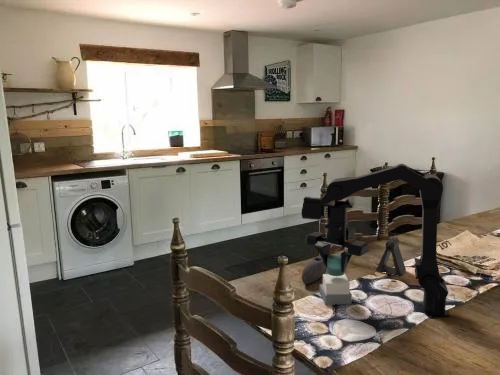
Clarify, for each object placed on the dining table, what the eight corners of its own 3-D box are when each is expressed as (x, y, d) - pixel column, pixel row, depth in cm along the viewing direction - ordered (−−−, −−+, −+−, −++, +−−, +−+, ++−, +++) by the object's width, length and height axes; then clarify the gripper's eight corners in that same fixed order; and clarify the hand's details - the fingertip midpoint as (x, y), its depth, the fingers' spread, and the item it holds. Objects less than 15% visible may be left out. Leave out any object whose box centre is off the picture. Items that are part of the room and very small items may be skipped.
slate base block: (351, 305, 121) (351, 294, 120) (325, 306, 121) (325, 295, 120) (343, 293, 129) (344, 283, 128) (319, 294, 128) (319, 284, 128)
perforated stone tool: (309, 289, 132) (309, 269, 130) (295, 285, 135) (295, 265, 134) (330, 274, 143) (330, 256, 142) (317, 271, 146) (317, 253, 145)
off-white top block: (349, 294, 120) (349, 283, 120) (326, 294, 121) (326, 283, 120) (344, 284, 127) (344, 274, 127) (322, 284, 128) (322, 274, 127)
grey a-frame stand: (375, 271, 145) (377, 239, 143) (381, 265, 150) (382, 235, 148) (401, 276, 140) (403, 244, 138) (406, 271, 145) (407, 239, 142)
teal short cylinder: (346, 275, 121) (346, 260, 120) (329, 276, 120) (329, 260, 119) (341, 269, 126) (341, 254, 125) (325, 269, 126) (325, 254, 125)
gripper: (377, 220, 120) (375, 269, 123) (323, 211, 132) (323, 255, 135) (360, 228, 112) (359, 280, 115) (305, 218, 124) (304, 265, 127)
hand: (335, 269), depth 123 cm, fingers closed on teal short cylinder, 5 cm apart
